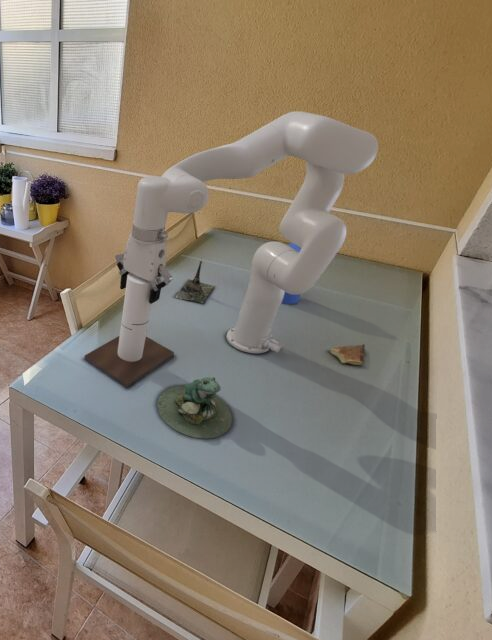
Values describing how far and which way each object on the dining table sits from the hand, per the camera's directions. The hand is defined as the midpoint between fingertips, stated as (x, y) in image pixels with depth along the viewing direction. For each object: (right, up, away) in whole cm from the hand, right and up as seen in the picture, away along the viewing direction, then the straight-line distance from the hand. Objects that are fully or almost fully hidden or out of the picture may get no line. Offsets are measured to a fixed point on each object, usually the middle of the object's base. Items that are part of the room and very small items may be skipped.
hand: (138, 294), depth 109 cm
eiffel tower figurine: (+31, +5, +44) cm, 53 cm away
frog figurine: (+13, -30, -5) cm, 33 cm away
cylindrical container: (0, -16, +12) cm, 20 cm away
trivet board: (0, -17, +13) cm, 21 cm away
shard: (+64, -16, +14) cm, 68 cm away
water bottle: (+61, +3, +40) cm, 73 cm away
